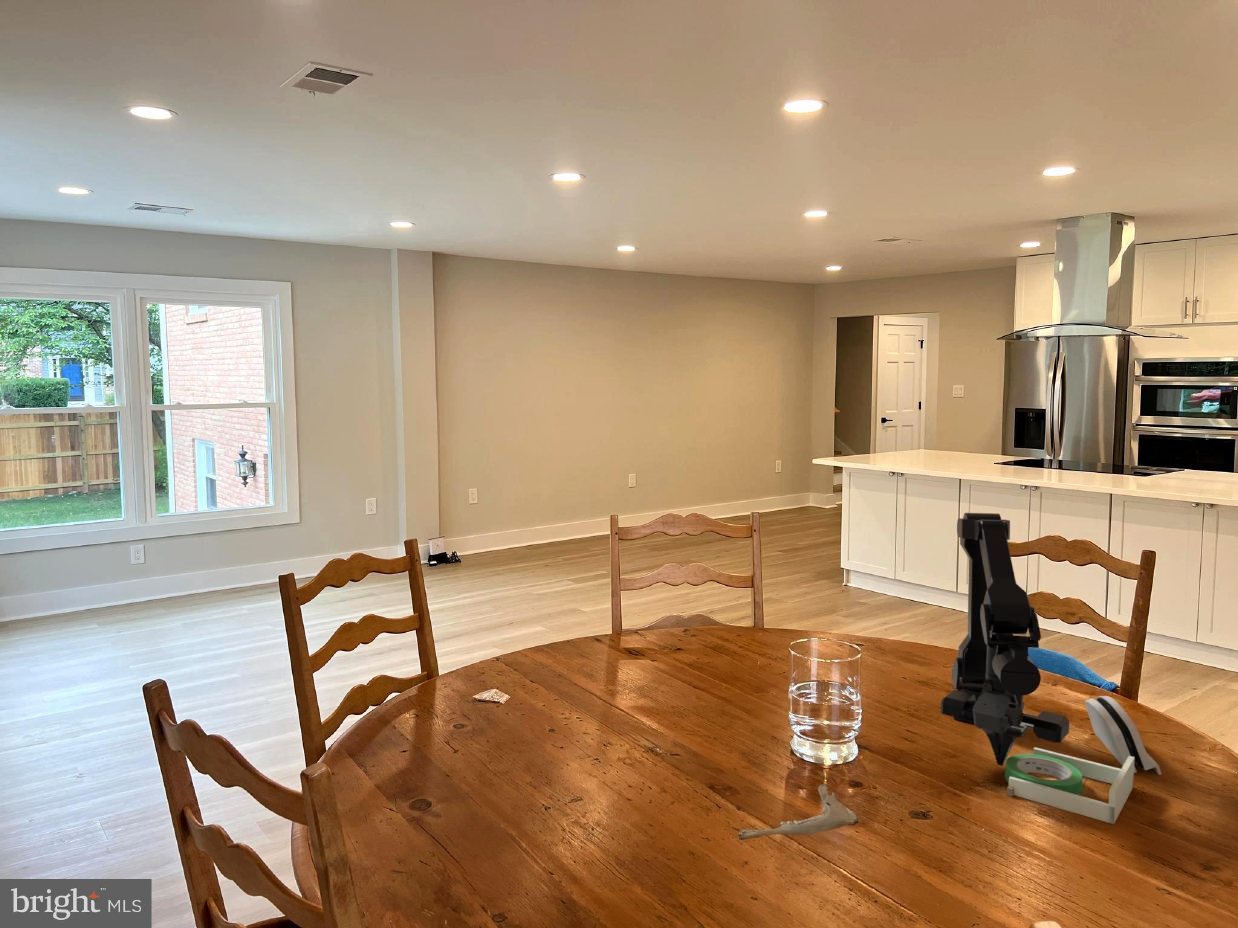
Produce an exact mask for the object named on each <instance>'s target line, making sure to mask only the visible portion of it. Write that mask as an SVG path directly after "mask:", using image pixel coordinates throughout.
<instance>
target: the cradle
mask: <svg viewBox="0 0 1238 928" xmlns="http://www.w3.org/2000/svg"><path fill="white" fill-rule="evenodd" d="M1032 754H1037V755H1044V756H1049V757H1053V758H1056V759H1059V760H1062V761H1064V762H1067V763H1069V764H1071V765H1073V766H1074V767H1076V768H1077V769H1078V770H1079V771H1080V772H1081V774H1082V777H1085V778H1088V779H1092V780H1096V781H1099V782H1103V783H1108V784H1110V785H1111V786H1110V788H1109V791H1108V802H1103V801H1100V800H1096V799H1093V798H1090V797H1087V796H1082V795H1076V794H1072V793H1069V792H1065V791H1061V790H1058V789H1054V788H1051V787H1047V786H1043V785H1040V784H1036V783H1033V782H1029V781H1025V780H1022V779H1018V778H1015V777H1011V776H1010V777H1009V783H1008V786H1006V796H1008V797H1011V798H1012V797H1014V796H1016V797H1020V798H1023V799H1026V800H1030V801H1033V802H1037V803H1040V804H1043V805H1047V806H1050V807H1053V808H1057V809H1060V810H1063V811H1067V812H1071V813H1074V814H1078V815H1082V816H1086V817H1088V818H1092V819H1095V820H1099V821H1102V822H1105V823H1109V824H1113V825H1114V824H1115V823H1116V820H1117V819H1118V817H1119V816H1120V813H1121V811H1122V810H1123V807H1124V806H1125V803H1126V802H1127V800H1128V797H1129V796H1130V794H1131V792H1132V791H1133V788H1134V777H1135V776H1134V774H1135V773H1134V759H1135V757H1132V756H1128V758H1127V760H1126V762H1125V763H1124V765H1123V766H1122V767H1121V768H1119V767H1115V766H1111V765H1106V764H1103V763H1099V762H1095V761H1091V760H1087V759H1083V758H1078V757H1074V756H1071V755H1067V754H1064V753H1063V754H1062V753H1059V752H1055V751H1052V750H1046V749H1045V748H1044V749H1043V748H1040V747H1035V746H1034V747H1033V752H1032Z"/></svg>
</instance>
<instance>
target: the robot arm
mask: <svg viewBox="0 0 1238 928" xmlns="http://www.w3.org/2000/svg"><path fill="white" fill-rule="evenodd" d="M962 517H963V518H957V521H956V534H957V537H958V538H959V544H960V546H961V548H962V549H963V551H964V552H965V555H966V556H967V558H968V583H967V584H968V586H967V587H968V591H967V592H968V593H967V595H968V596H967V597H968V598H967V599H968V600H967V635H966V636H965V637H964V639H963V640H962V642H961V643H960V645H959V646H958V652H957V657H955V659H954V662H953V665H952V669H951V681H952V682H951V683H952V684H953V687H954V688H955V689H953V690H952V691H951V692H949V693H948V694H947V695H946V696H944V697H943V698H942V699H941V701H940V714H942V715H945V716H949V717H952V718H953V719H955V720H959V721H963V722H966V723H971V724H974V726H975V728H977V729H980V730H982V731H983V732H984V733H985V734H986V736H987V738H988V741H989V743H990V746H991V748H992V751H993V755H994V757H995V760H996V763H997V765H998V766H1000V767H1002V766H1004V764H1006V760H1007V759H1008V758H1009V755H1010V753H1011V750H1012V748H1013V747H1014V743H1015V742H1016V740H1017V738H1018V739H1019V738H1023V736H1024V735H1025V734H1026V733H1028V732H1029V730H1030V729H1031V728H1032V733H1033V734H1034V735H1035V737H1036V739H1040V740H1043V741H1046V742H1047V741H1048V742H1051V743H1054V744H1055V743H1056V744H1059V743H1063V740H1064V739H1065V738H1066V737H1067V736H1068V734H1069V733H1070V720H1069V719H1068V717H1067V715H1065V714H1064V715H1063V714H1060V713H1056V712H1051V711H1047V710H1042V711H1041V712H1040V713H1039V714H1038V715H1033V714H1030V713H1025V712H1024V709H1025V702H1024V696H1027V695H1028V696H1029V695H1030V694H1032V693H1034V692H1036V690H1037V689H1038V688H1039V687H1040V684H1041V680H1042V677H1041V672H1040V670H1039V669H1038V667H1037V666H1036V664H1035V663H1034V662H1033V660H1032V659H1031V658H1030V656H1029V649H1030V648H1031V649H1039V647H1040V646H1039V645H1040V643H1039V642H1040V640H1041V638H1042V635H1041V629H1040V624H1039V620H1038V615H1037V613H1036V612H1035V607H1034V606H1032V605H1031V604H1030V600H1029V595H1028V593H1027V592H1026V591H1025V590H1024V589H1023V588H1022V587H1021V586H1019V584H1017V581H1016V576H1015V571H1014V566H1013V562H1012V557H1011V552H1010V548H1009V542H1008V541H1010V540H1011V520H1010V519H1002V518H1001V517H1002V516H1001V514H1000V513H994V512H993V513H990V512H989V513H987V512H986V513H984V512H965V513H963V516H962ZM1027 632H1028V634H1029V635H1026V634H1027Z"/></svg>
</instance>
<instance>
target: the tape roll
mask: <svg viewBox="0 0 1238 928" xmlns="http://www.w3.org/2000/svg"><path fill="white" fill-rule="evenodd" d="M1004 770H1005V772H1004V778H1005V781H1006V783H1007V784H1009V777H1010V776H1011V777H1015V778H1018V779H1022V780H1025V781H1029V782H1033V783H1036V784H1040V785H1043V786H1047V787H1051V788H1054V789H1058V790H1061V791H1065V792H1069V793H1072V794H1076V795H1079V796H1081V795H1082V792H1083V777H1084V776H1082V774H1081V772H1080V771H1079V770H1078V769H1077V768H1076V767H1074V766H1073V765H1071V764H1069V763H1067V762H1064V761H1062V760H1059V759H1056V758H1053V757H1049V756H1044V755H1037V754H1033V753H1020V754H1019V753H1018V754H1013V755H1012V756H1008V757H1007V759H1006V761H1005V769H1004ZM1030 773H1034V774H1036V773H1039V774H1045V775H1048V776H1052V777H1054V778H1057V779H1048V778H1042V777H1038V776H1034V775H1032V774H1030Z"/></svg>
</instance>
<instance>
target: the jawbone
mask: <svg viewBox="0 0 1238 928" xmlns="http://www.w3.org/2000/svg"><path fill="white" fill-rule="evenodd" d="M817 790H818V794H819V796H820V800H821V803H822V814H817V815H814V816H812V817H808V818H805V819H801V820H798V821H797V820H793V821H791V820H788V821H786V822H785V821H781V822H780V825H781V826H779V827H777V828H771V829H743V828H742V829H741V830H740V831H739V832H738V836H739V839H751V838H757V837H760V836H767V835H808V834H809V835H810V834H817V833H822V832H827V831H831V830H834V829H837V828H840V827H845V826H848V825H855V823H857V822H858V821H859V820H858V817H857V814H856V813H855V812H854V811H853V810H851V809H850V808H848V807H846V806H845V805H843V804H841V803H840V802H839V801H838V800H837V797H836V794H835V792H832V793H831V795H830V794H829V792H828V790H829V787H827V785H826V784H825V783H823V784H820V785H819V787H818V789H817Z"/></svg>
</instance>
